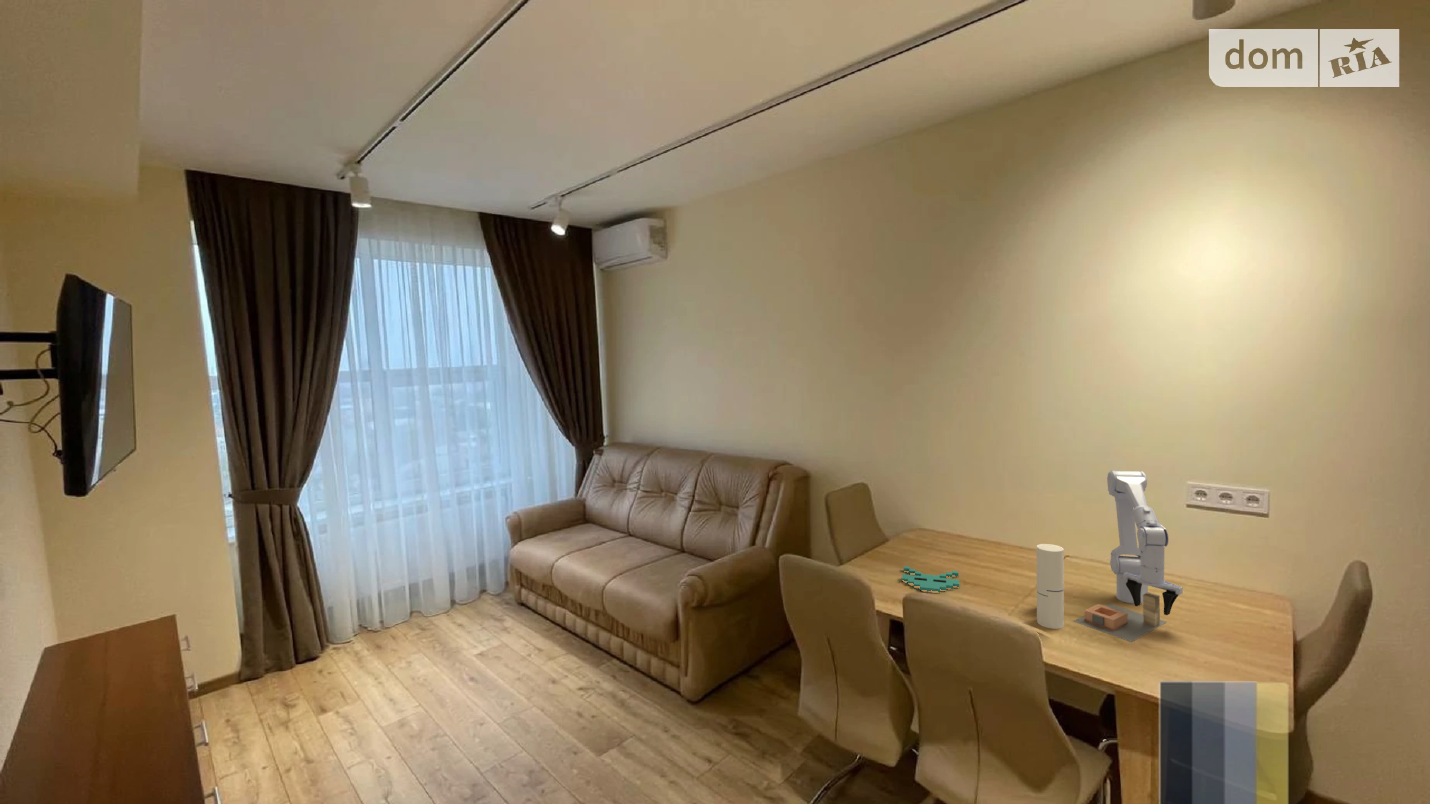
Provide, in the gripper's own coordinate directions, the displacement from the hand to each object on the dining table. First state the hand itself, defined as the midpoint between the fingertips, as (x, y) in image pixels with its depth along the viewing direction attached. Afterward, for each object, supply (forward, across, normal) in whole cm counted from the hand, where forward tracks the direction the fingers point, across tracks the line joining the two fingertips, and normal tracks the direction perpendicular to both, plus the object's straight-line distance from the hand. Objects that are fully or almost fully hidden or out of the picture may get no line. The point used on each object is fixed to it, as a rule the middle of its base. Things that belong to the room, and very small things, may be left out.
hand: (1151, 609), depth 170 cm
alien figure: (+6, -61, -25) cm, 66 cm away
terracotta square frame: (+4, -8, -10) cm, 14 cm away
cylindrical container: (+6, -17, -24) cm, 30 cm away
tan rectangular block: (+4, 0, 0) cm, 4 cm away
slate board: (+5, -6, -6) cm, 10 cm away
